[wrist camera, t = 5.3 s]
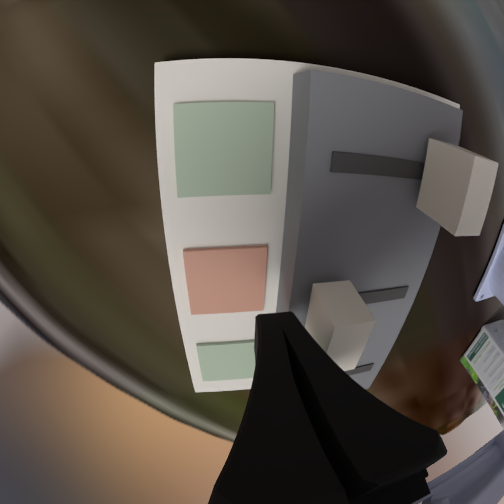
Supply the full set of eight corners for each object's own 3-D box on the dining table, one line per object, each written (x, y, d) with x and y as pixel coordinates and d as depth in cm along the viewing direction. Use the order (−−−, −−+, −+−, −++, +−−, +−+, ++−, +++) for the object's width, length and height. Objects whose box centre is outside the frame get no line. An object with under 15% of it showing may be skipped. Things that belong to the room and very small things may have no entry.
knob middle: (349, 280, 11) (375, 320, 9) (336, 329, 12) (354, 369, 10) (313, 283, 11) (334, 327, 9) (303, 333, 12) (318, 376, 10)
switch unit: (447, 102, 11) (489, 111, 8) (374, 356, 20) (389, 386, 18) (159, 65, 9) (141, 54, 6) (195, 380, 18) (196, 417, 16)
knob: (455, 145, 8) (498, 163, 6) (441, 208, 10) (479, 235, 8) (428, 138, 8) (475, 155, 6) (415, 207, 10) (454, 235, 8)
